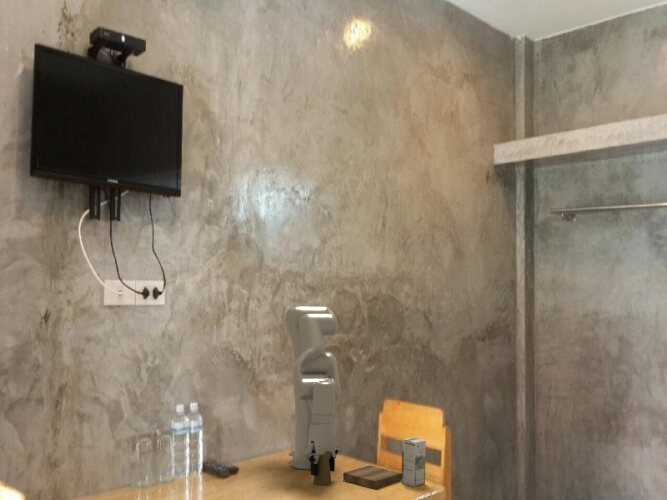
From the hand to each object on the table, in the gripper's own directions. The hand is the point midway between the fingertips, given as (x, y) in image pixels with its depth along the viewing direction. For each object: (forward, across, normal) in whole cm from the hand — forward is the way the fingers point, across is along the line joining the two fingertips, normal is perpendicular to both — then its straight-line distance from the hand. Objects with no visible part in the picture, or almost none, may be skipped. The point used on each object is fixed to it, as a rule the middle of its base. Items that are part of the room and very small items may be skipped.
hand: (322, 472), depth 209 cm
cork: (+3, 0, 0) cm, 3 cm away
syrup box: (+3, -21, +22) cm, 31 cm away
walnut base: (+3, -14, +10) cm, 18 cm away
